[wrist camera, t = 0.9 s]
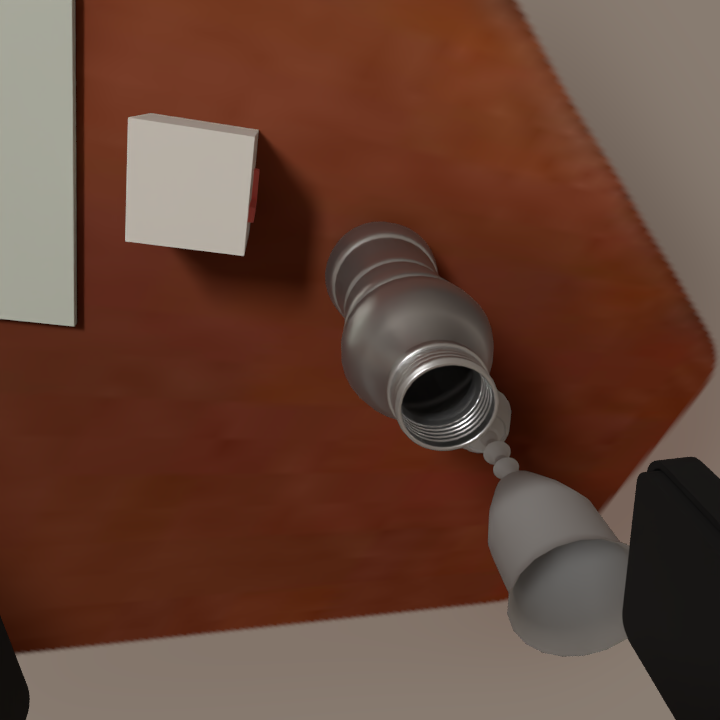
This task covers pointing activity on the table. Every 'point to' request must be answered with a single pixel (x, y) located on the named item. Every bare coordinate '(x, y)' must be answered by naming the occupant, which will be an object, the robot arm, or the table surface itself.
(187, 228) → the lettered cube
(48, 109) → the sage mat
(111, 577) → the table surface
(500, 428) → the chalice
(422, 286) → the metal bottle
